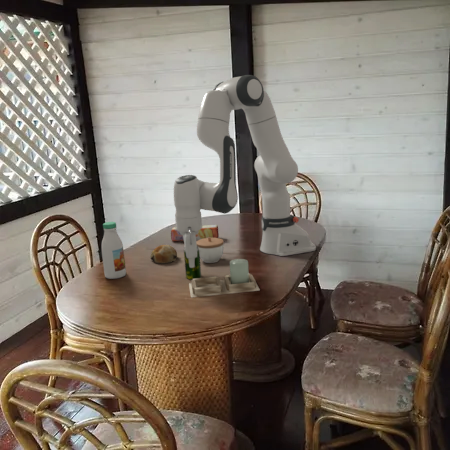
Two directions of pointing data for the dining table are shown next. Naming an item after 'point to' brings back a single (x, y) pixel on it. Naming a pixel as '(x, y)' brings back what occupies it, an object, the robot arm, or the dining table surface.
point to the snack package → (203, 233)
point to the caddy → (220, 286)
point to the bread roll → (163, 254)
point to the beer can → (192, 272)
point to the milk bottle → (112, 252)
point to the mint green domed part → (239, 271)
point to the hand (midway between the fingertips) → (191, 262)
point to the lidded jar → (210, 249)
